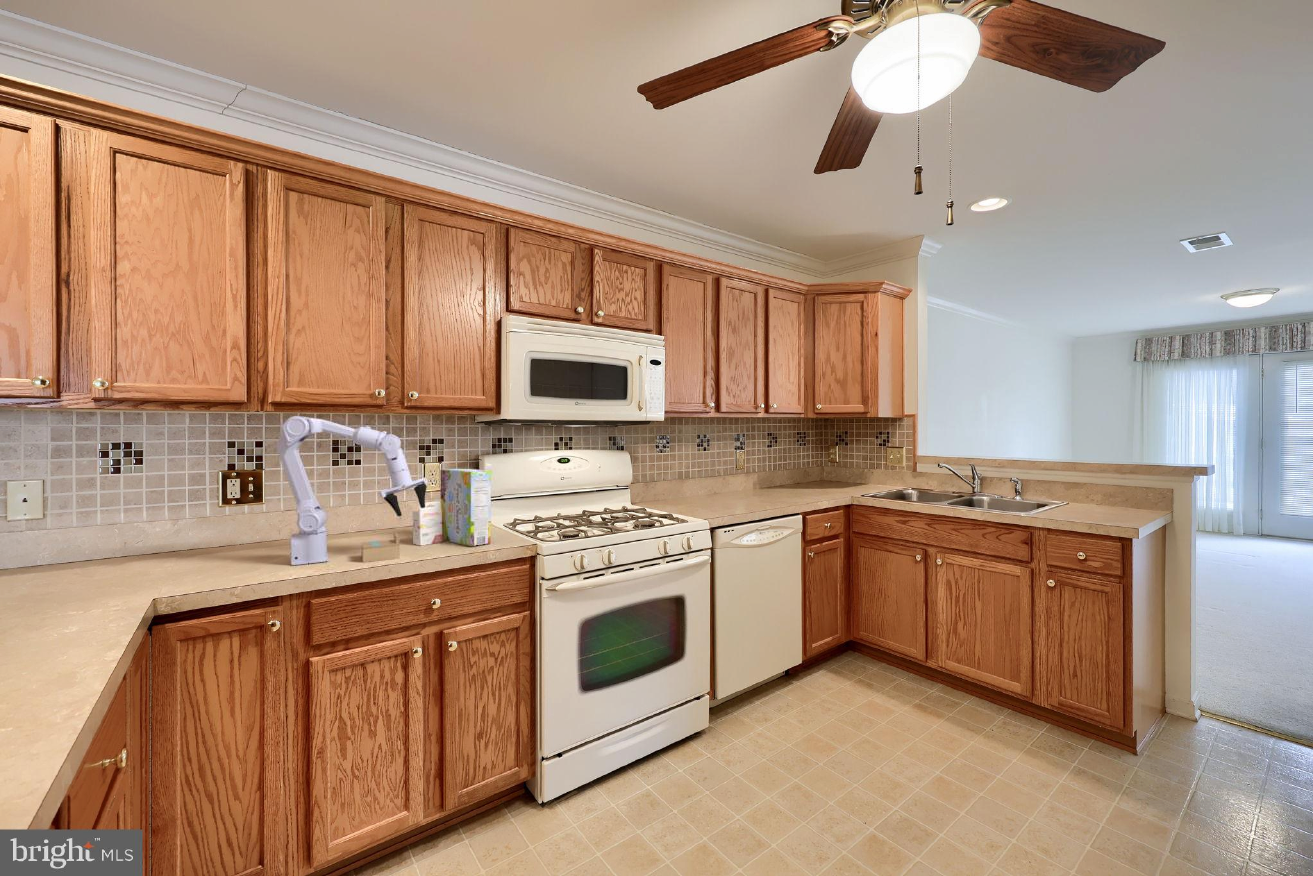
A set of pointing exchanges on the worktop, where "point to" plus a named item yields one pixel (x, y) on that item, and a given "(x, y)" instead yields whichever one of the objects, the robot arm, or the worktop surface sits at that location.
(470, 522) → the snack box
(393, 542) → the mailer lid
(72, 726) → the worktop surface
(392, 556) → the mailer tray
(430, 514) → the ink cartridge box
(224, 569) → the worktop surface
